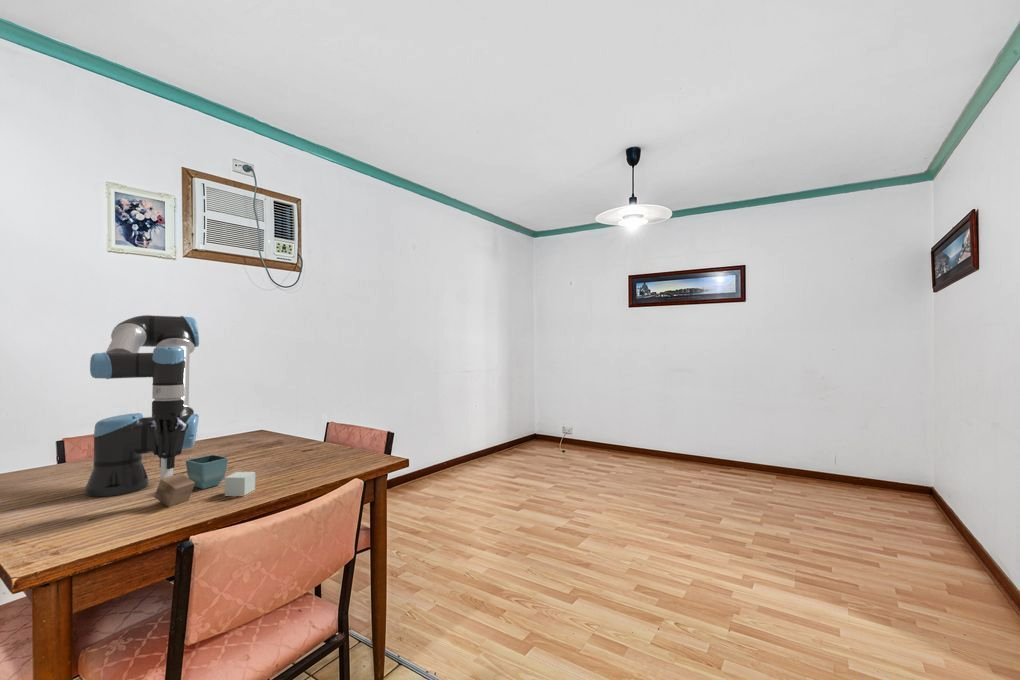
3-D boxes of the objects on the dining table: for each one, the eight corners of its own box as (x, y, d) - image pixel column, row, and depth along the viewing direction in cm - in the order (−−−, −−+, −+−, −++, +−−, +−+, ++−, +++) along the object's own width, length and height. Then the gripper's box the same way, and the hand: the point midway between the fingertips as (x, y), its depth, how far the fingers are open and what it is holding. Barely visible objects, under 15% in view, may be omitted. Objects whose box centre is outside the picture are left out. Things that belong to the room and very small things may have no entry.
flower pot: (228, 484, 151) (229, 457, 151) (201, 492, 143) (201, 463, 143) (212, 480, 154) (212, 454, 154) (184, 488, 146) (184, 460, 146)
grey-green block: (224, 497, 139) (224, 477, 139) (236, 490, 145) (236, 471, 145) (244, 497, 139) (244, 477, 139) (255, 490, 145) (255, 471, 145)
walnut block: (154, 497, 131) (160, 479, 130) (174, 490, 137) (180, 473, 136) (169, 507, 130) (175, 488, 129) (188, 500, 135) (195, 482, 135)
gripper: (137, 399, 132) (136, 481, 131) (173, 401, 128) (172, 485, 128) (163, 396, 139) (162, 474, 139) (197, 398, 136) (196, 477, 136)
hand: (166, 479), depth 133 cm, fingers closed
